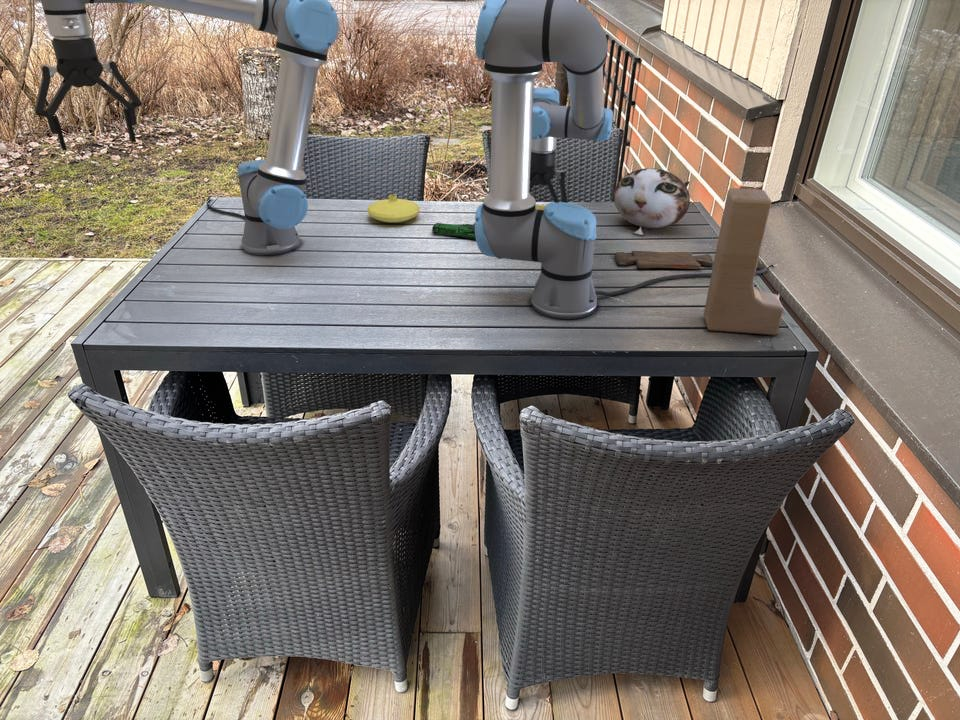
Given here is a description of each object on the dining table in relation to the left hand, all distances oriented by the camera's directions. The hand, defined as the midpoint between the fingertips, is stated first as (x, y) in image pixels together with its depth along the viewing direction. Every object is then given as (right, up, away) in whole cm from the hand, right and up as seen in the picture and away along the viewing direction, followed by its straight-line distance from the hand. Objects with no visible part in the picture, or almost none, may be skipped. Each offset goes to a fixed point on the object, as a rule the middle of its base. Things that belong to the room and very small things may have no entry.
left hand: (99, 144), depth 154 cm
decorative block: (+140, -39, +6) cm, 145 cm away
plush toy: (+132, -7, +60) cm, 145 cm away
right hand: (+98, -10, +48) cm, 110 cm away
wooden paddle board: (+131, -20, +36) cm, 138 cm away
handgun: (+78, -9, +55) cm, 96 cm away
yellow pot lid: (+56, -4, +63) cm, 84 cm away
